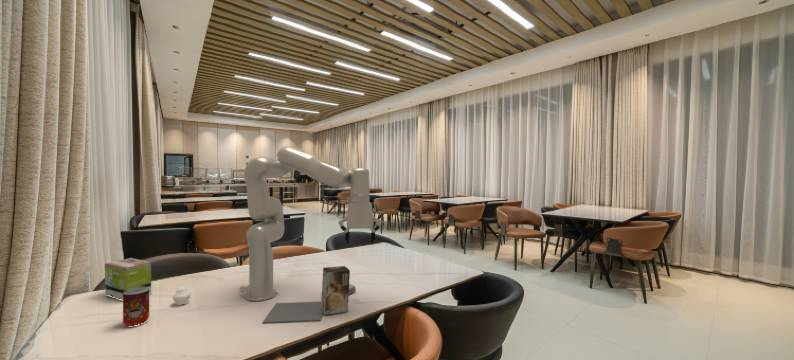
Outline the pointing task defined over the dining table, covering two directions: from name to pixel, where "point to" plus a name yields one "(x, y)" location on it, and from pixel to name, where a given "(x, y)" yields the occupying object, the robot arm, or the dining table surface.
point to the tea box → (126, 276)
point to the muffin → (181, 296)
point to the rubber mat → (294, 312)
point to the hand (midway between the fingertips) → (360, 242)
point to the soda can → (135, 305)
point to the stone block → (351, 289)
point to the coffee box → (335, 290)
